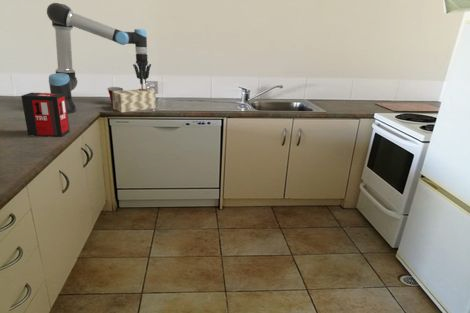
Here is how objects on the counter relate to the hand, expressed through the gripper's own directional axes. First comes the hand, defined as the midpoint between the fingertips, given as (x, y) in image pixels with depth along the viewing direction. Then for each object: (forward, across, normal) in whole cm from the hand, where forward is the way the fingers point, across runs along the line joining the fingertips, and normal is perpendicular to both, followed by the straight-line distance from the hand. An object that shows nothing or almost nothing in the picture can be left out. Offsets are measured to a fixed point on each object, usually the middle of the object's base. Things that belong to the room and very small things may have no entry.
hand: (143, 88), depth 234 cm
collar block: (+13, -7, 0) cm, 15 cm away
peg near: (+10, -14, 0) cm, 18 cm away
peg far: (+9, 0, 0) cm, 9 cm away
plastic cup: (+14, -12, +18) cm, 26 cm away
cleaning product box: (+13, -71, -30) cm, 79 cm away
